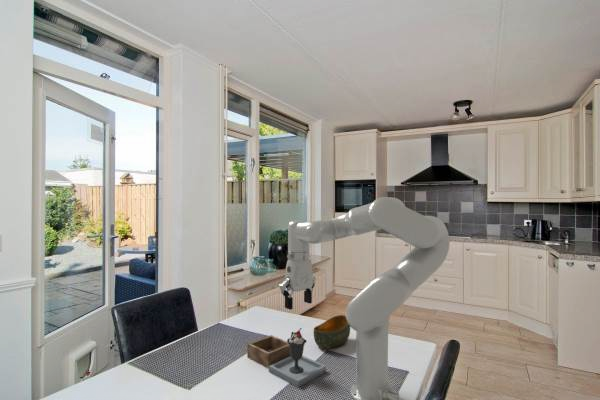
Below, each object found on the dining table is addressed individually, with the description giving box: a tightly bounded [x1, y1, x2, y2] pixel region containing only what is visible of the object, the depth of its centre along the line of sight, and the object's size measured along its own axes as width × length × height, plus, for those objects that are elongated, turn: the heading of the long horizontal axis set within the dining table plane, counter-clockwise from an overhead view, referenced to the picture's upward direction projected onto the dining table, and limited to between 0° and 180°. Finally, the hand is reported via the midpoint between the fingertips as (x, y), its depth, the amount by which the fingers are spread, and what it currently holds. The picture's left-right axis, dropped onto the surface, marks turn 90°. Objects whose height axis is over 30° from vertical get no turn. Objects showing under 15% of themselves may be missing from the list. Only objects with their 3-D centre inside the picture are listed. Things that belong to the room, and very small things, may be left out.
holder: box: [246, 334, 291, 369], centre depth 124 cm, size 12×12×5 cm
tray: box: [268, 355, 327, 388], centre depth 113 cm, size 14×14×2 cm
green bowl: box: [313, 314, 351, 351], centre depth 137 cm, size 13×20×10 cm, turn 104°
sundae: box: [287, 327, 308, 374], centre depth 113 cm, size 7×7×15 cm
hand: (298, 305), depth 114 cm, fingers open, 9 cm apart
